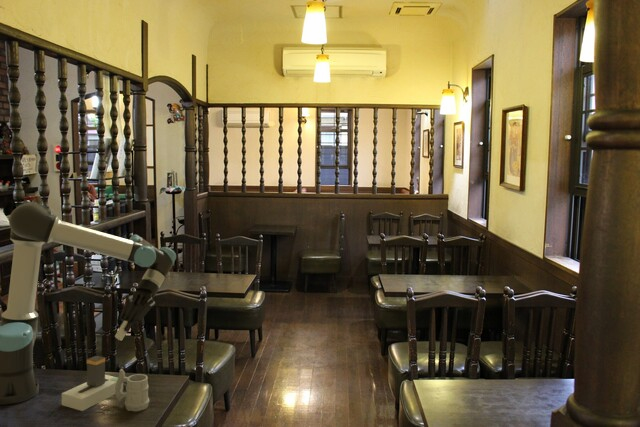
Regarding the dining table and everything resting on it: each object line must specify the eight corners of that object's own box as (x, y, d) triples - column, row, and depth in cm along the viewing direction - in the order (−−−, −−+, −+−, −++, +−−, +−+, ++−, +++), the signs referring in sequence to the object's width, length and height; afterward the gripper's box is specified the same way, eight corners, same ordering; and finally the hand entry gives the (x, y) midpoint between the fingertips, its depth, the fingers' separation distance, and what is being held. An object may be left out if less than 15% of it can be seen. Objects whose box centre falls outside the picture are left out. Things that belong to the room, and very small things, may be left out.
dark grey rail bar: (104, 383, 189) (104, 379, 189) (106, 381, 190) (106, 378, 190) (130, 389, 184) (130, 386, 184) (132, 388, 186) (132, 385, 185)
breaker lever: (86, 385, 177) (86, 359, 176) (96, 380, 181) (96, 355, 180) (95, 387, 175) (96, 361, 175) (105, 383, 179) (105, 357, 178)
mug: (141, 413, 168) (142, 377, 167) (108, 408, 170) (108, 373, 169) (153, 403, 175) (154, 368, 174) (121, 398, 177) (122, 364, 176)
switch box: (61, 405, 171) (61, 392, 171) (103, 384, 187) (103, 373, 187) (82, 411, 168) (82, 398, 167) (123, 389, 184) (123, 378, 184)
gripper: (168, 291, 200) (137, 346, 186) (141, 287, 205) (109, 340, 191) (159, 280, 195) (127, 336, 181) (132, 276, 200) (98, 330, 186)
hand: (118, 338), depth 186 cm, fingers closed
